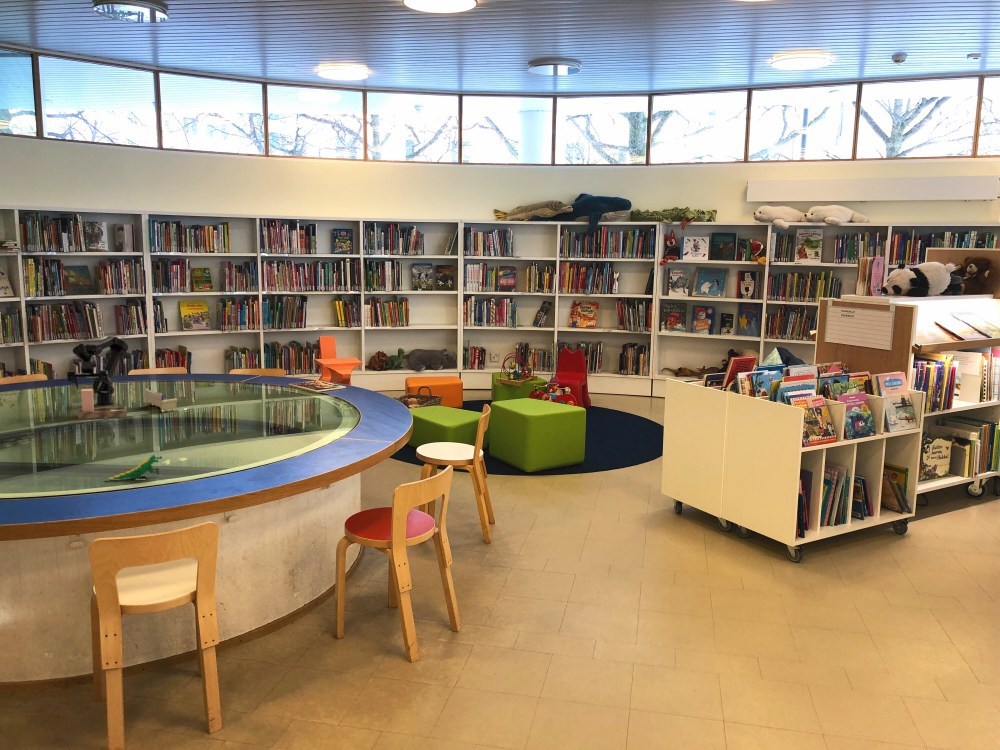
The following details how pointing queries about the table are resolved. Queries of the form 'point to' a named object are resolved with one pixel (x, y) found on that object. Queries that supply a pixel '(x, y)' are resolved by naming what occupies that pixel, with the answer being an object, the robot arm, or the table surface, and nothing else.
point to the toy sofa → (159, 400)
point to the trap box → (103, 413)
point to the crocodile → (140, 469)
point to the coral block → (87, 400)
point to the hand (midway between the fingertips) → (87, 389)
